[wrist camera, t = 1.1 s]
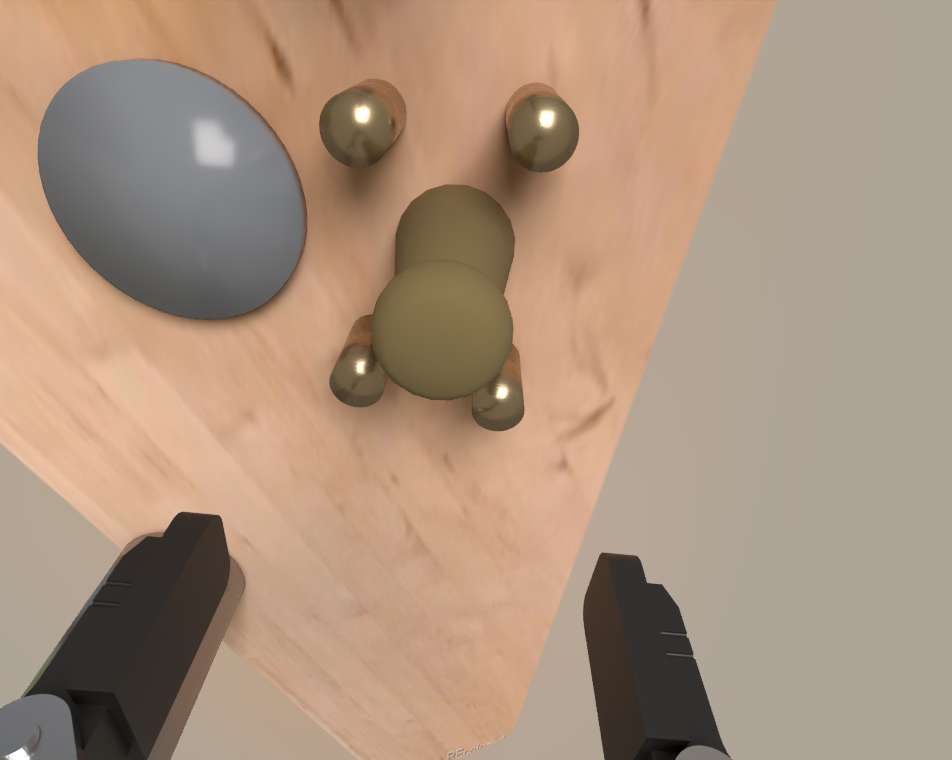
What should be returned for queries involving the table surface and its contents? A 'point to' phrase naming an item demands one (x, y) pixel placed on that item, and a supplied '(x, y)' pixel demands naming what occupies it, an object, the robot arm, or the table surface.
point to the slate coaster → (172, 188)
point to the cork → (447, 295)
